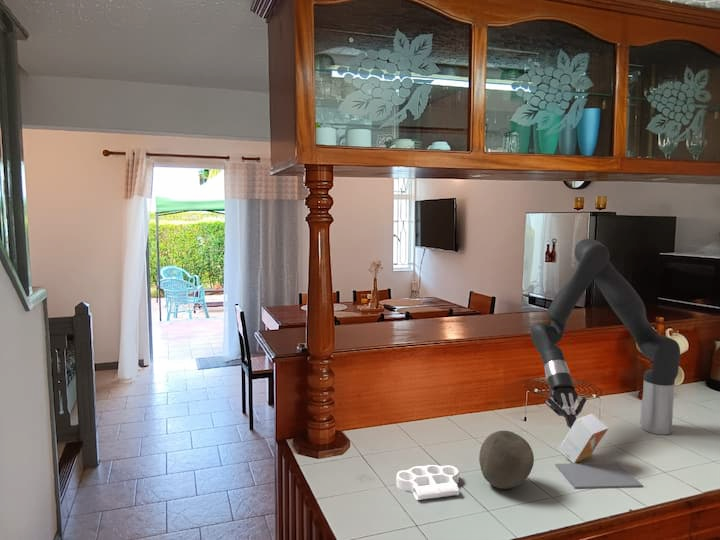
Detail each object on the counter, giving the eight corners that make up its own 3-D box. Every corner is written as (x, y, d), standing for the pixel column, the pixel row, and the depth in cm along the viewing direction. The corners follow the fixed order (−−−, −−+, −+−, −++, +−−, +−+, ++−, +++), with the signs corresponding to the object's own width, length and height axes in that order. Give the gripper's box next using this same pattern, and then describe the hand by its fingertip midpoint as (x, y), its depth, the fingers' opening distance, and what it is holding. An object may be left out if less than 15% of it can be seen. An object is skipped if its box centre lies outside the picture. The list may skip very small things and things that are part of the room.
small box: (573, 464, 152) (593, 434, 146) (557, 448, 157) (575, 418, 150) (589, 457, 156) (609, 428, 150) (573, 442, 161) (592, 412, 155)
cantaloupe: (504, 504, 131) (505, 449, 130) (468, 480, 144) (469, 429, 142) (543, 491, 138) (544, 438, 136) (506, 468, 150) (507, 419, 149)
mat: (555, 465, 152) (555, 463, 152) (617, 463, 152) (617, 462, 152) (574, 488, 139) (574, 486, 139) (642, 486, 139) (642, 485, 139)
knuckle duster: (406, 505, 132) (391, 477, 146) (470, 497, 136) (450, 470, 150) (406, 493, 132) (391, 466, 146) (470, 485, 135) (450, 459, 150)
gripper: (541, 371, 163) (556, 423, 152) (582, 371, 164) (599, 422, 153) (535, 382, 169) (548, 433, 158) (574, 381, 169) (590, 432, 159)
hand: (573, 428), depth 156 cm, fingers closed
